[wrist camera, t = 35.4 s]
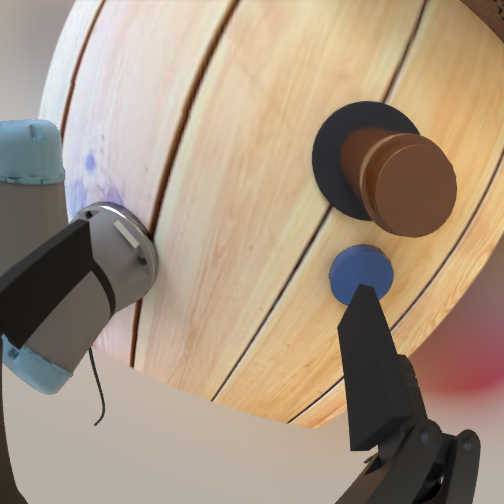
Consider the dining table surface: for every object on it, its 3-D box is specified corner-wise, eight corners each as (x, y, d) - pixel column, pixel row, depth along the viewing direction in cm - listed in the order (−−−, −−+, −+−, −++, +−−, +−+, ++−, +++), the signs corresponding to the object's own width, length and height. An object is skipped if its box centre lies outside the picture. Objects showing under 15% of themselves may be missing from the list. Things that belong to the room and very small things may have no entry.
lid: (365, 231, 29) (368, 238, 28) (400, 272, 31) (404, 280, 30) (316, 273, 33) (317, 281, 31) (354, 308, 35) (356, 317, 33)
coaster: (368, 240, 30) (369, 243, 29) (286, 162, 27) (286, 163, 27) (443, 166, 24) (446, 168, 24) (368, 77, 21) (369, 76, 21)
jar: (372, 210, 28) (409, 265, 18) (323, 161, 26) (342, 191, 16) (418, 165, 24) (477, 197, 14) (373, 111, 23) (421, 111, 13)
